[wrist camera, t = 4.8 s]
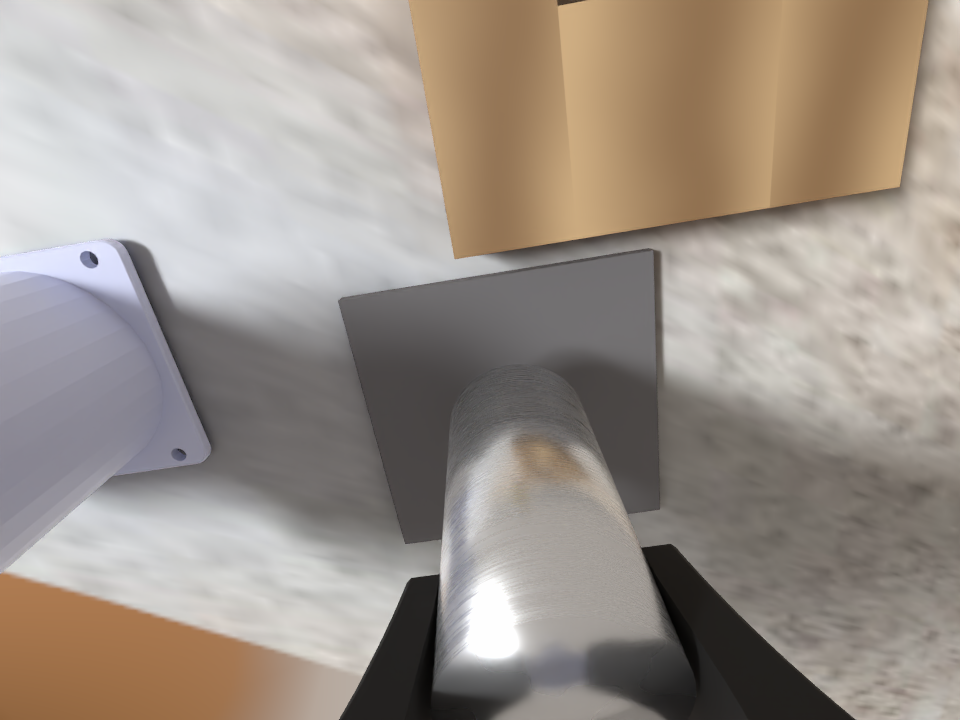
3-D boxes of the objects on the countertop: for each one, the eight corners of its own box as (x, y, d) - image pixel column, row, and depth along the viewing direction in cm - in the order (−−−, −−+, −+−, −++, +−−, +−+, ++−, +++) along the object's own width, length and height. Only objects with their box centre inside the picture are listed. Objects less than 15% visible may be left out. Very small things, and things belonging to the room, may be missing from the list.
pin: (453, 480, 16) (438, 784, 8) (446, 366, 14) (421, 620, 7) (579, 476, 16) (676, 776, 8) (588, 362, 14) (718, 612, 7)
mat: (406, 537, 20) (405, 543, 19) (341, 298, 16) (338, 301, 16) (656, 502, 19) (659, 509, 19) (649, 248, 16) (653, 250, 15)
